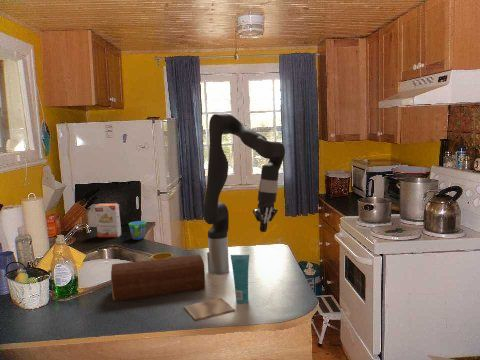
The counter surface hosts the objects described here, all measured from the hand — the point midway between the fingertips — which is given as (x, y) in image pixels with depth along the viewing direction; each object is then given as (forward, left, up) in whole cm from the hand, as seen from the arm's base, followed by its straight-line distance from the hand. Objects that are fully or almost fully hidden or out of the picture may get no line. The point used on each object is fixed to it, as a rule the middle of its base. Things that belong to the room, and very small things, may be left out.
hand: (262, 231), depth 187 cm
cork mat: (-12, -25, -26) cm, 38 cm away
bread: (-43, -17, -26) cm, 53 cm away
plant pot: (-53, -2, -26) cm, 59 cm away
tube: (-4, -13, -26) cm, 29 cm away
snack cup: (-111, +45, -26) cm, 122 cm away
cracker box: (-133, +42, -26) cm, 142 cm away
